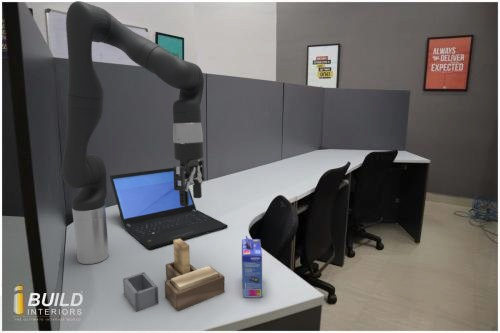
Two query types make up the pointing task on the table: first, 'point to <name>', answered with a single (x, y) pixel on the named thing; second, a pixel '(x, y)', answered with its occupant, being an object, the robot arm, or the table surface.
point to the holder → (142, 297)
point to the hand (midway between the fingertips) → (191, 201)
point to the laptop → (158, 209)
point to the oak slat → (181, 257)
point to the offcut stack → (193, 278)
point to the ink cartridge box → (252, 268)
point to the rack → (191, 289)
